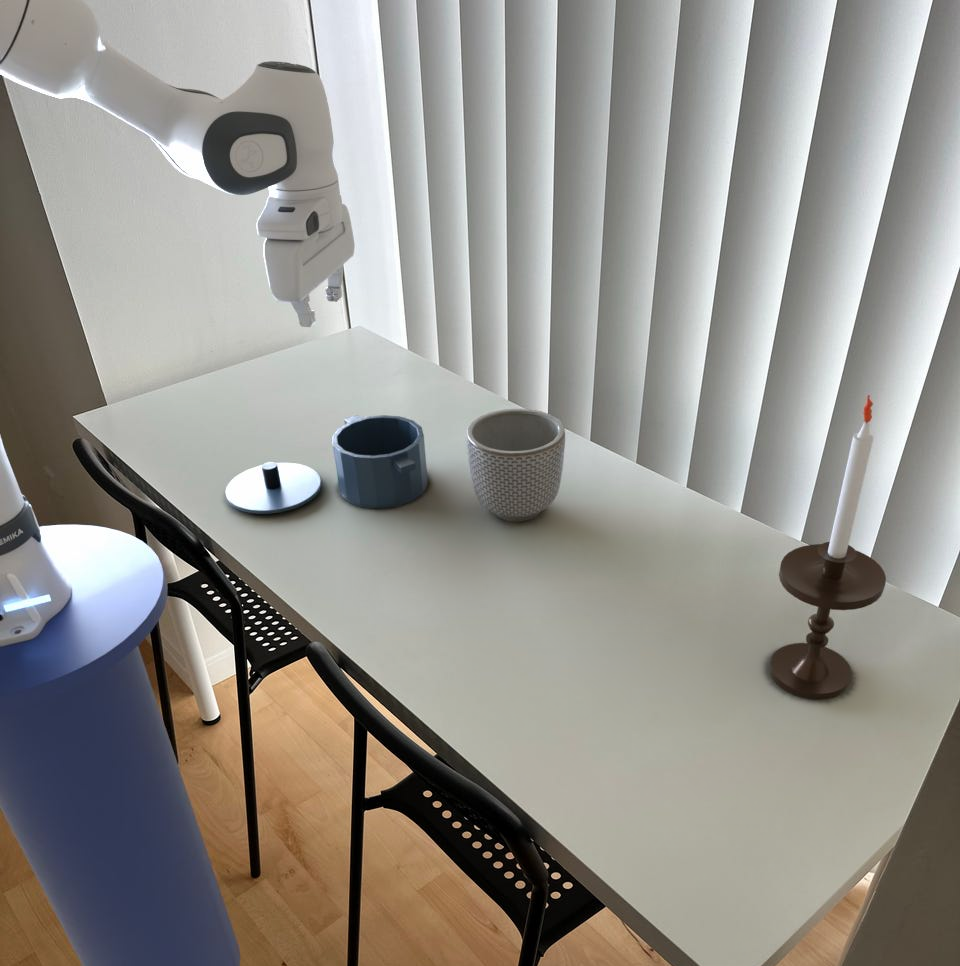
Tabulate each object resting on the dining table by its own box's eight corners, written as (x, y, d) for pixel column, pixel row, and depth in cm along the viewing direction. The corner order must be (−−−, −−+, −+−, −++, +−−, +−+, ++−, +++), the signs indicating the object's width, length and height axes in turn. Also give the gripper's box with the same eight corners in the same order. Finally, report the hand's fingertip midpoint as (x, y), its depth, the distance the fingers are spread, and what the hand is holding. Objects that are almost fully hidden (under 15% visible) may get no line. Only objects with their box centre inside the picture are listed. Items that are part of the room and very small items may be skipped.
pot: (371, 526, 143) (365, 474, 138) (318, 473, 156) (310, 424, 151) (452, 498, 148) (448, 447, 143) (393, 449, 161) (388, 401, 156)
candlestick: (810, 717, 109) (879, 430, 87) (741, 665, 116) (789, 387, 94) (878, 681, 113) (960, 398, 91) (808, 633, 120) (868, 359, 98)
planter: (583, 506, 145) (585, 426, 137) (520, 546, 137) (519, 464, 129) (513, 476, 153) (512, 399, 144) (450, 513, 145) (445, 433, 137)
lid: (247, 528, 144) (241, 500, 141) (213, 486, 154) (207, 460, 151) (337, 498, 150) (333, 470, 147) (299, 460, 160) (294, 434, 157)
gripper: (316, 183, 134) (329, 284, 143) (249, 228, 119) (269, 338, 128) (359, 185, 133) (370, 287, 142) (297, 230, 118) (313, 342, 126)
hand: (321, 312), depth 135 cm, fingers open, 8 cm apart
